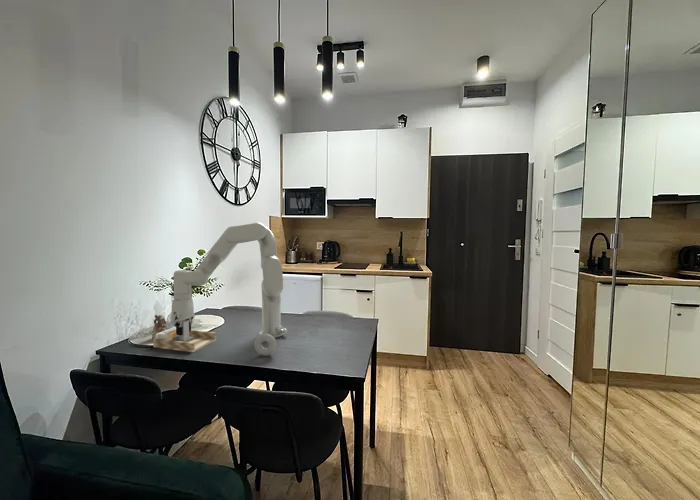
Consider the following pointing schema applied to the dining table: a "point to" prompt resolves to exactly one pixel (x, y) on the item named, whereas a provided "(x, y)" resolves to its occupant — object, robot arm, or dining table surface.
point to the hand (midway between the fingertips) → (183, 332)
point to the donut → (261, 349)
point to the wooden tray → (197, 343)
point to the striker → (184, 333)
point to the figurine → (159, 325)
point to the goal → (166, 334)
